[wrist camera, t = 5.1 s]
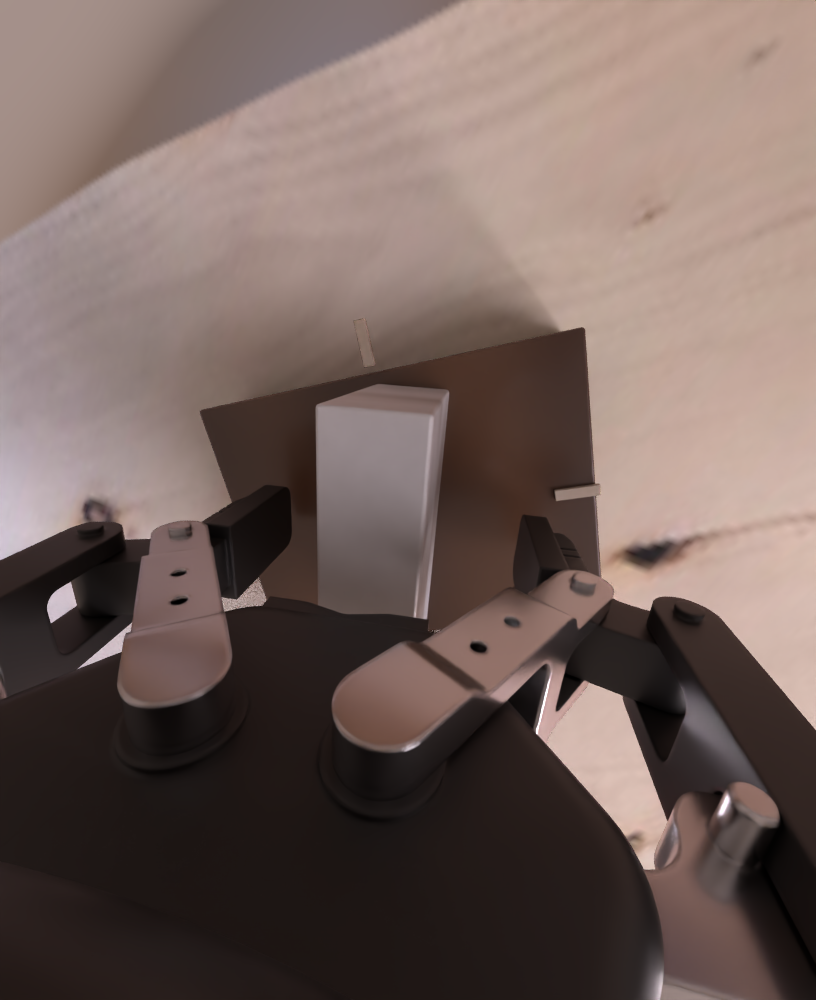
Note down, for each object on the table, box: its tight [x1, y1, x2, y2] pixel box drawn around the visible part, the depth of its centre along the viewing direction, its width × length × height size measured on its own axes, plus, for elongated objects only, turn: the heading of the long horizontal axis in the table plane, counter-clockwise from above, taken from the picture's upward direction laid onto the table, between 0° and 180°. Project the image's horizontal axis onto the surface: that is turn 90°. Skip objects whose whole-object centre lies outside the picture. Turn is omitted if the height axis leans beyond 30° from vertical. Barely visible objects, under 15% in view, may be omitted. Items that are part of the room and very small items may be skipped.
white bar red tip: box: [316, 384, 449, 619], centre depth 12 cm, size 9×2×6 cm, turn 177°
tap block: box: [200, 318, 601, 630], centre depth 16 cm, size 13×13×3 cm
